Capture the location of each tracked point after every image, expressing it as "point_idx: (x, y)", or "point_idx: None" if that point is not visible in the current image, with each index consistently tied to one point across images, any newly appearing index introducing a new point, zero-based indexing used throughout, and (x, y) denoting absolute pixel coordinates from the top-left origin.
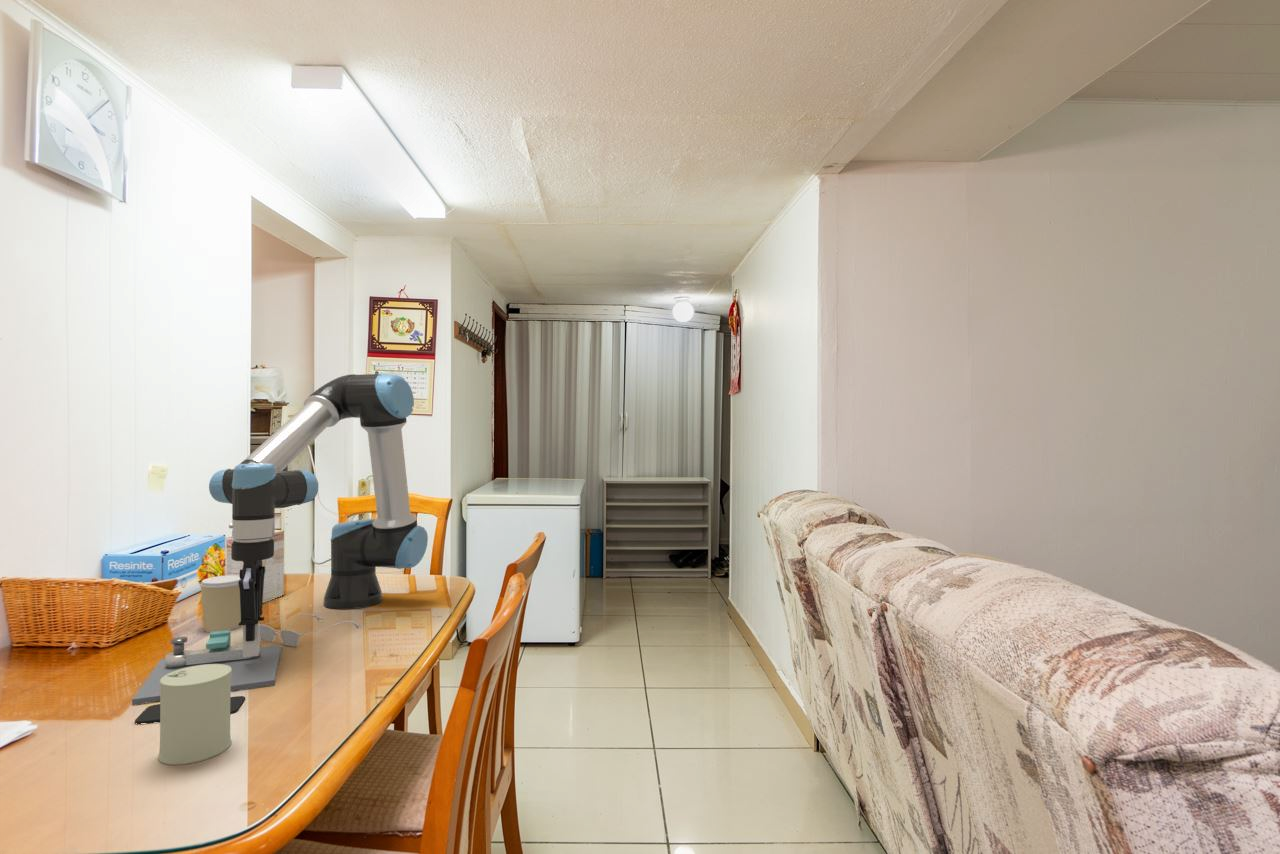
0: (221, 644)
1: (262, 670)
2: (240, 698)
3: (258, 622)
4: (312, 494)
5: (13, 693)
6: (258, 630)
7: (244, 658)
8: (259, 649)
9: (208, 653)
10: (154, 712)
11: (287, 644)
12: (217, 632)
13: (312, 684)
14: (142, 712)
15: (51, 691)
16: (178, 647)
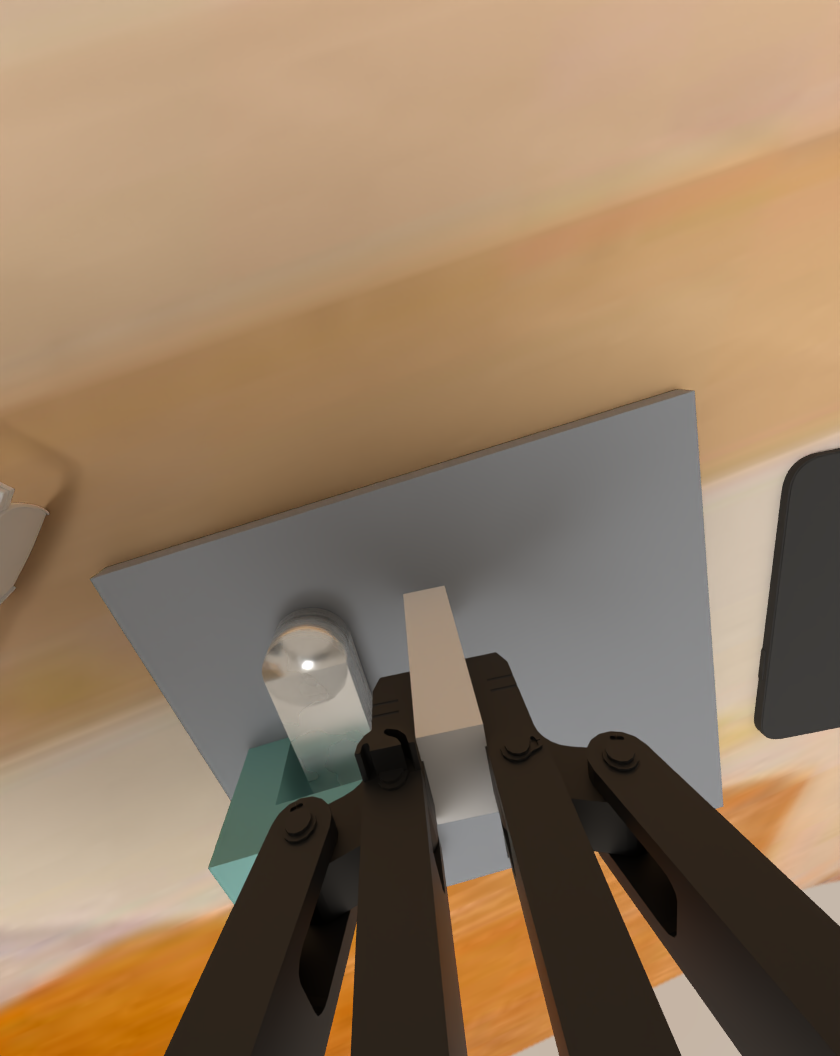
0: None
1: (528, 508)
2: (824, 471)
3: (436, 741)
4: None
5: (518, 1049)
6: (469, 682)
7: (357, 657)
8: (406, 605)
9: None
10: (837, 699)
11: (21, 565)
12: None
13: (731, 164)
14: (821, 730)
15: (524, 999)
16: None
